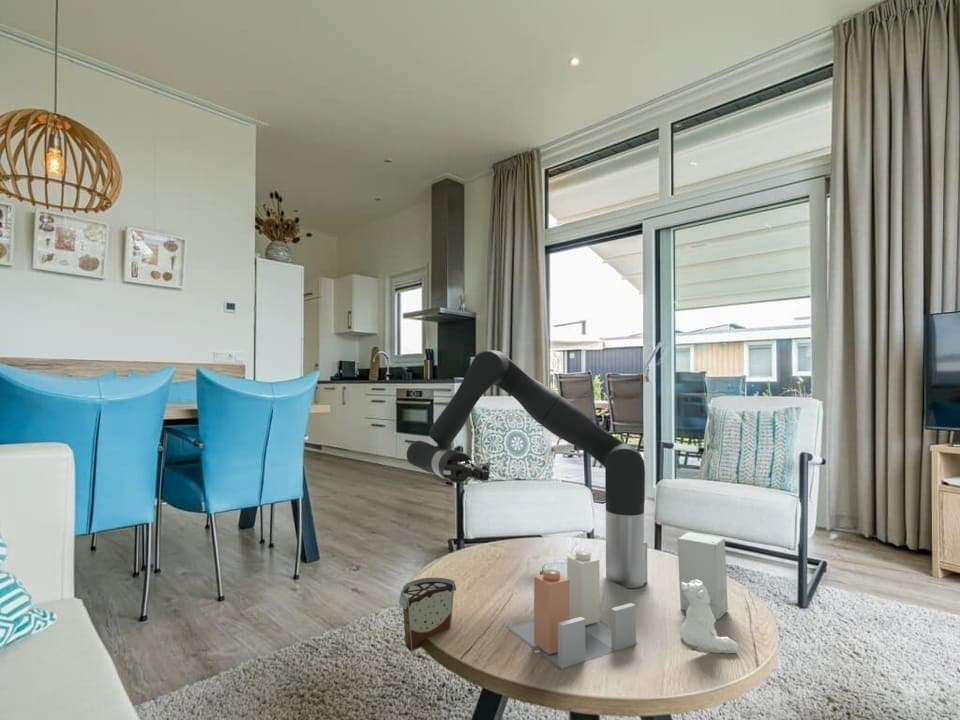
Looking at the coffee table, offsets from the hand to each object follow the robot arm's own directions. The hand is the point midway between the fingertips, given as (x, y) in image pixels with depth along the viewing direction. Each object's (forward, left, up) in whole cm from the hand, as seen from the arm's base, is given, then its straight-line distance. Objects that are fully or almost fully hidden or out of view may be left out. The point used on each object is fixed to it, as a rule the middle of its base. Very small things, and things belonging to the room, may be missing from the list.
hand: (485, 476), depth 116 cm
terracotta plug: (0, +24, -27) cm, 36 cm away
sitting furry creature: (-27, +35, -28) cm, 52 cm away
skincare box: (-40, +25, -28) cm, 55 cm away
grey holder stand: (-6, +22, -28) cm, 36 cm away
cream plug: (-12, +19, -27) cm, 35 cm away
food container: (+18, +7, -28) cm, 34 cm away
